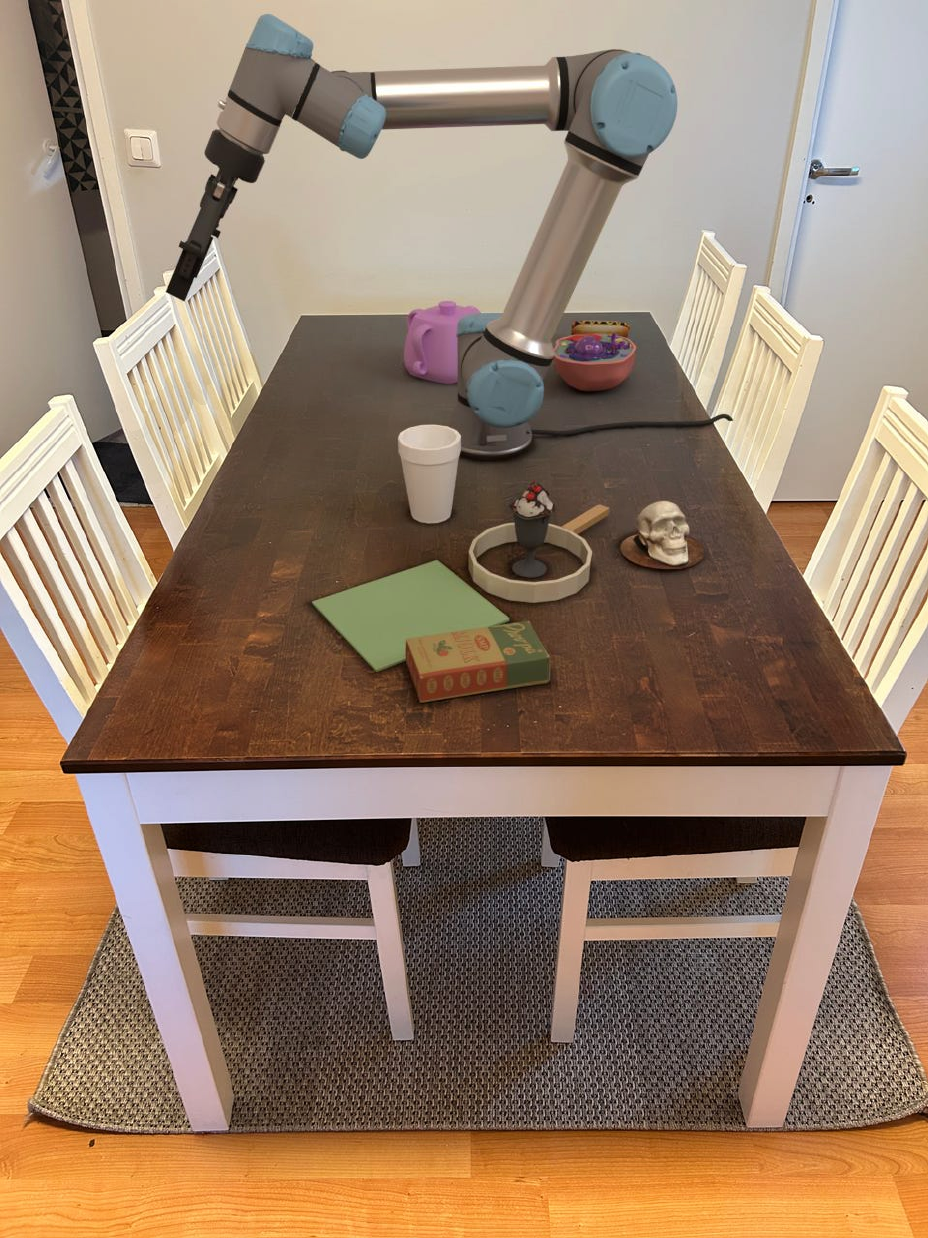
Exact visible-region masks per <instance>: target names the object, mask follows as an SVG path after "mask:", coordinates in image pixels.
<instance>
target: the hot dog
mask: <svg viewBox="0 0 928 1238" xmlns="http://www.w3.org/2000/svg"><path fill="white" fill-rule="evenodd" d="M630 326H631V325H630V324H629V323H628V322H622V321H618V320H617V321H616V320H595V319H593V320H592V319H591V320H587V319H585V320H578V321H576V320H575V321H573V322H572V324H571V330H570V336H571V335H579V334H617V335H618V336H620V337H625V338H628V337H629V331H630V329H631V327H630Z"/></svg>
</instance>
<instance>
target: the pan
mask: <svg viewBox="0 0 928 1238" xmlns="http://www.w3.org/2000/svg"><path fill="white" fill-rule="evenodd" d="M609 515H610V507H609V506H606V505H603V504H601V503H598V504H597V505H595V506H593V507H592V508H590V509H588V510H586V511H585V512H583V513H582V514H580V515H578V516H577V517H575V518H574V519H572V520H570V521H569V522H567V523H565V524H564V525H562V526H559V525H556V524H552V523H549V525H548V530H547V535H546V538H545V541H544V543H547V544H551V545H553V546H556V547H560V548H563V549H566V550H567V551H569V552H571V554H573V555H575V556H576V557H578V558H579V559H580V560H581V563H582V564H583V565H582V566H581V567H580V568H579V569H578V570H576V571H575V572H574V573H571V574H569V575H566V576H563V577H560V578H557V579H550V580H542V581H527V580H517V579H509V578H507V577H504V576H502V575H498V574H495V573H492V572H490V571H489V570H488V569H486V568H485V567H484V566H482V565H481V564H480V563H479V562H478V561H477V559H478V558H479V557H480V556H481V555H482V554H483V553H485V552H486V551H487V550H489V549H491V548H495V547H499V546H500V545H504V544H507V543H519V542H518V541H517V538H516V533H515V523H514V522H508V523H507V522H506V523H502V524H499V525H497V526H493V527H491V528H487V529H485V530H484V531H482V532H480V534H478V535H477V536H475V537H474V538H473V539H472V542H471V544H470V547H469V549H468V571H469V574H470V577H471V579H472V581H473V583H474V584H476V585H477V586H478V587H479V588H481V589H482V590H483V591H484V592H486V593H488V594H490V595H493V596H496V597H498V598H501V599H504V600H506V601H512V602H521V603H529V604H536V603H537V604H538V603H544V602H552V601H553V602H554V601H558V600H562V599H565V598H567V597H569V596H572V595H575V594H577V593H578V592H579V591H581V589H583V587H585V586H586V585H587V584H588V583H589V580H590V576H591V570H592V559H593V550H592V548H591V546H590V545H589V544H588V542H587V540H586V539H585V538H584V537H582V536H580V535H579V534H581V533H582V532H584V531H585V530H587V529H588V528H590V527H592V526H594V525H595V524H597V523H598V522H600V521H601V520H603V519H604V518H607V517H608V516H609Z"/></svg>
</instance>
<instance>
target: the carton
mask: <svg viewBox="0 0 928 1238" xmlns="http://www.w3.org/2000/svg"><path fill="white" fill-rule="evenodd" d="M405 653H406V661H405V663H406V666H407V669H408V671H409V674H410V677H411V681H412V683H413V686H414V689H415V692H416V695H417V698H418V701H419V703H421V704H422V703H427V702H435V701H440V700H446V699H452V698H459V697H465V696H471V695H478V694H483V693H489V692H497V691H503V690H510V689H517V688H524V687H532V686H540V685H545V684H548V683H549V682H551V656H550V654H549V653H548V652H547V649H546V648H545V647H544V644H543V643H542V642H541V640H540V638H539V636H538V635H537V633H536V631H535V629H534V627H533V625H532V623H531V622H530V620H523V621H517V622H510V623H503V624H500V625H495V626H489V627H483V628H476V629H469V630H463V631H455V632H449V633H442V634H435V635H428V636H422V637H415V638H408V639H406V646H405Z"/></svg>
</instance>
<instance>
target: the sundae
mask: <svg viewBox="0 0 928 1238" xmlns="http://www.w3.org/2000/svg"><path fill="white" fill-rule="evenodd" d="M549 497H550V491H549V490H548V489H547V488H546V487H544V486H543V485H541V484H540V483H536V480H535V479H533V480H532V481H531V484H530V485H529V487H527V488H526V489H525V490H524V492H523V493H522V495H519V496H516V497H515V498H513V499H512V500H510V502H508V505H507V508H508V510H509V511H510V512H511V513H512V516H513V521H514V522H513V523H515V533H516V538H517V541H518V542H517V543H518V544H519V545H520V546H521V547H522V548H523V549H525V557H524V558H523V559H520V560H517V561H515V562H514V563H513V564H512V567H511V569H512V572H513V573H514V574H515V575H517V576H518V577H522V578H527V579H533V578H539V577H541V576H543V575H544V574H546V572H547V569H548V567H547V565H545V564H544V563H543V562H542V561H540V560H538V559H535V551H536V549H538V548H540V547H541V546H543V544H544V543H545V542H544V541H545V538H546V535H547V530H548V525H549V524H550V520H551V516H552V515H554V514H556V513H557V510H558V507H557V504H556V502H555V500H553V499H552V498H549Z"/></svg>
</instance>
